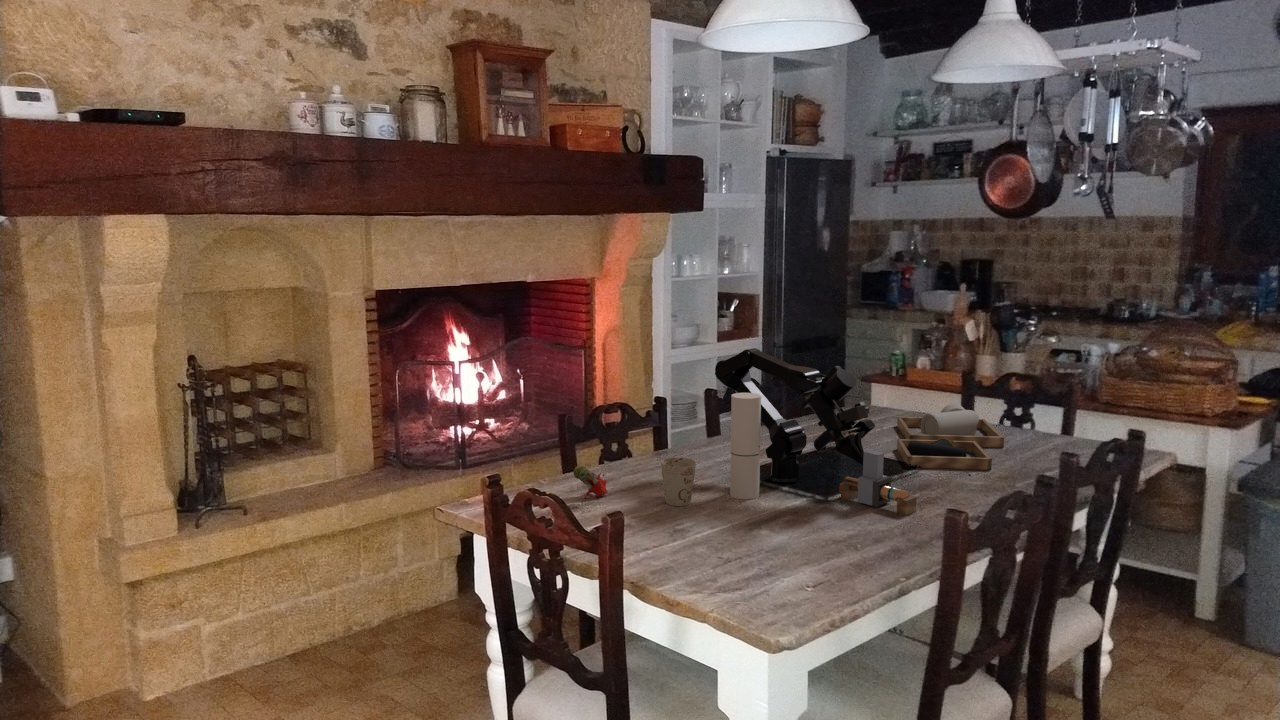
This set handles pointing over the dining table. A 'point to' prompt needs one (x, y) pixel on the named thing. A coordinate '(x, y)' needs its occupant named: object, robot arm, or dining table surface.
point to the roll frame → (983, 441)
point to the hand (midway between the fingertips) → (865, 463)
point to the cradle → (903, 505)
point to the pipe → (884, 491)
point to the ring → (875, 494)
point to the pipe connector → (936, 449)
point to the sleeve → (870, 475)
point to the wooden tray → (976, 462)
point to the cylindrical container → (745, 445)
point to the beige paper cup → (678, 480)
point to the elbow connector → (950, 422)
